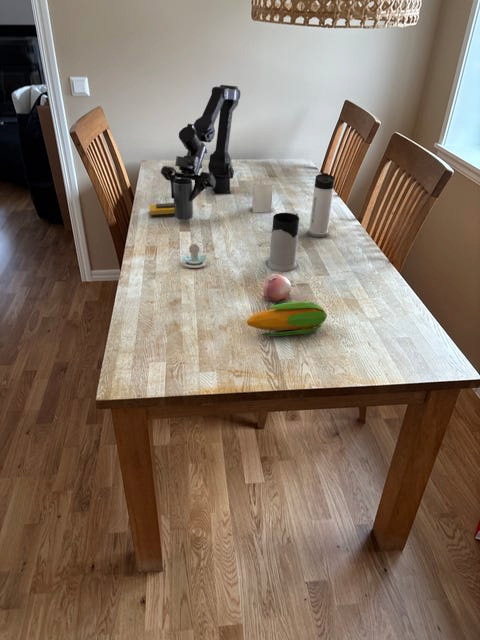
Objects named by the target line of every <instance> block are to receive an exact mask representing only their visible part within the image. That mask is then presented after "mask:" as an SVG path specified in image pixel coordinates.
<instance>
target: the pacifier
mask: <svg viewBox="0 0 480 640" xmlns="http://www.w3.org/2000/svg"><path fill="white" fill-rule="evenodd" d="M188 251H189V253H190V255H187V254H182V255H181V257H182V260H183V261H184V263H183V266H184V267H185V268H189V269H199V268H204V267H205V266H206V263H205V261H206V259H207V254H202V255H199V252H200V246H199V245H198V244H197V243H192V244H190V245H189V247H188Z"/></svg>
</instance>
